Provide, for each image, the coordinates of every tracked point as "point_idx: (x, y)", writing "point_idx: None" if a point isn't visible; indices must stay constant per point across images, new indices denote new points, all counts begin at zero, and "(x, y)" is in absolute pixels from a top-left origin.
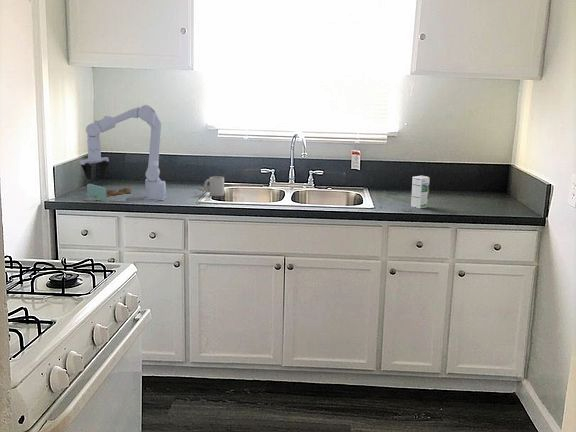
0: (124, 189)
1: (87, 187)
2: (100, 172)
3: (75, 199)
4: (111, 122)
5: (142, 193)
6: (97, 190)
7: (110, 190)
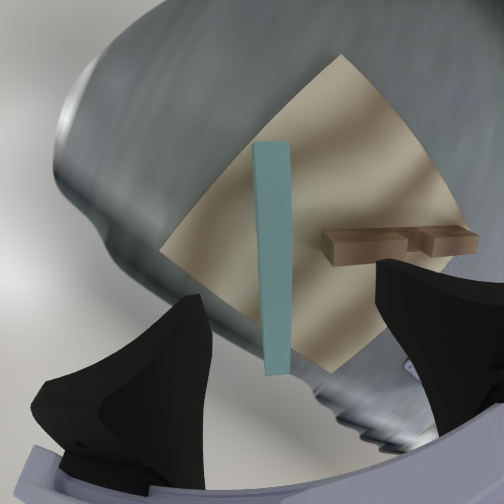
0: (448, 254)
1: (253, 147)
2: (404, 290)
3: (163, 149)
4: None
5: (490, 235)
6: (261, 300)
7: (377, 254)
